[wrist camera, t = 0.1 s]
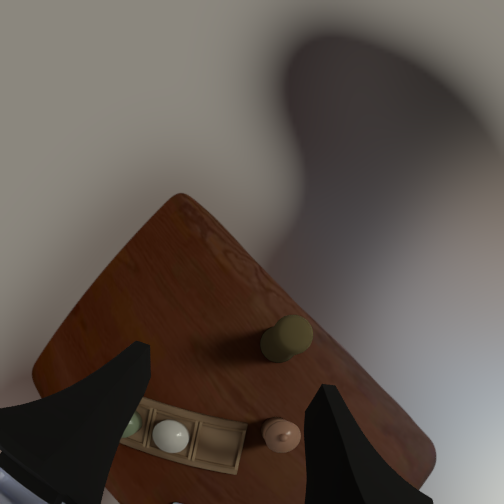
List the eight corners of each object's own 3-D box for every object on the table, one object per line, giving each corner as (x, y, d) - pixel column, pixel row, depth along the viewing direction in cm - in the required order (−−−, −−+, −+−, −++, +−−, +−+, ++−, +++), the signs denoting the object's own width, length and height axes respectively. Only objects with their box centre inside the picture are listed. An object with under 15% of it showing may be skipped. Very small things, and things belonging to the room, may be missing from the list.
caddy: (236, 472, 32) (236, 475, 30) (107, 435, 32) (103, 436, 30) (247, 422, 36) (248, 424, 35) (117, 387, 36) (113, 387, 35)
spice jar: (287, 445, 35) (298, 455, 29) (257, 441, 35) (263, 452, 29) (293, 417, 37) (305, 423, 31) (263, 413, 37) (270, 420, 31)
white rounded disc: (186, 453, 32) (184, 457, 30) (153, 444, 32) (149, 446, 30) (192, 424, 34) (191, 426, 32) (158, 414, 34) (155, 416, 32)
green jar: (140, 437, 32) (129, 443, 27) (114, 427, 32) (101, 432, 27) (144, 412, 34) (134, 416, 29) (119, 403, 34) (105, 405, 29)
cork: (252, 342, 42) (260, 331, 32) (279, 318, 44) (295, 299, 34) (278, 370, 40) (295, 367, 30) (305, 344, 42) (328, 333, 33)
